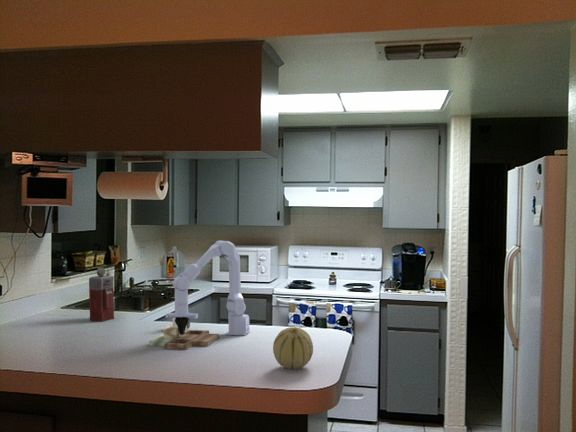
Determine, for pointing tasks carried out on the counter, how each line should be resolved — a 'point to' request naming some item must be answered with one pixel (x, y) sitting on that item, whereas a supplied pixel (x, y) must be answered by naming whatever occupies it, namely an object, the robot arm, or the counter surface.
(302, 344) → the cantaloupe
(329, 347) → the counter surface
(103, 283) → the red liquid decanter
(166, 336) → the birch block
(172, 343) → the trap board
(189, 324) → the medicine bottle
